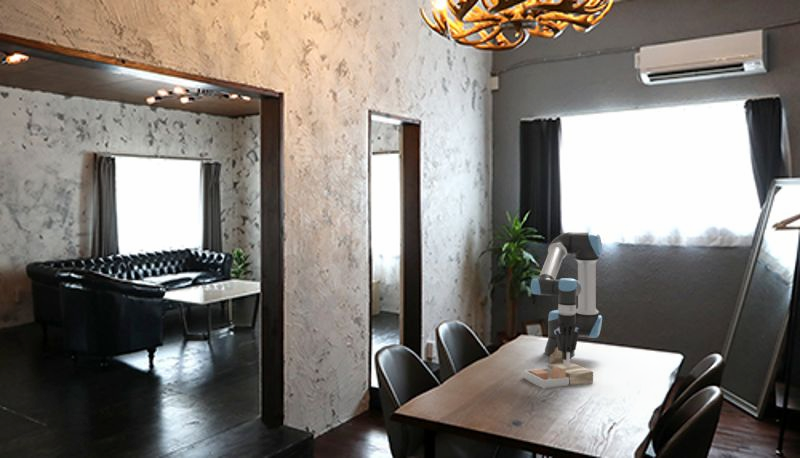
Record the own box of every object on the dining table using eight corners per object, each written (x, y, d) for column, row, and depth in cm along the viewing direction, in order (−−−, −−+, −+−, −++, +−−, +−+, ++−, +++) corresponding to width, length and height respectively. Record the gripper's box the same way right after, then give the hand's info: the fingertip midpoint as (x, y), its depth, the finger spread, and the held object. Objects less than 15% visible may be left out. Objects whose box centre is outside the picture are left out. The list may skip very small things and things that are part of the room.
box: (523, 378, 261) (523, 370, 261) (548, 375, 265) (548, 367, 265) (543, 388, 246) (543, 380, 246) (568, 385, 250) (569, 377, 250)
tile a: (541, 369, 263) (541, 375, 263) (529, 370, 261) (529, 376, 261) (548, 372, 257) (548, 379, 257) (536, 374, 255) (536, 380, 255)
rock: (576, 356, 276) (558, 342, 280) (567, 364, 266) (549, 350, 270) (564, 372, 280) (547, 359, 285) (555, 381, 270) (538, 367, 274)
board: (548, 375, 265) (549, 364, 265) (571, 372, 269) (571, 362, 269) (569, 385, 250) (570, 374, 250) (592, 382, 254) (593, 371, 254)
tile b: (557, 380, 256) (551, 380, 255) (557, 366, 256) (551, 367, 255) (565, 384, 250) (559, 384, 249) (565, 370, 250) (559, 371, 249)
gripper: (559, 316, 247) (558, 370, 249) (584, 314, 252) (584, 367, 253) (549, 313, 255) (549, 365, 256) (574, 311, 259) (574, 362, 260)
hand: (566, 366), depth 254 cm, fingers closed
